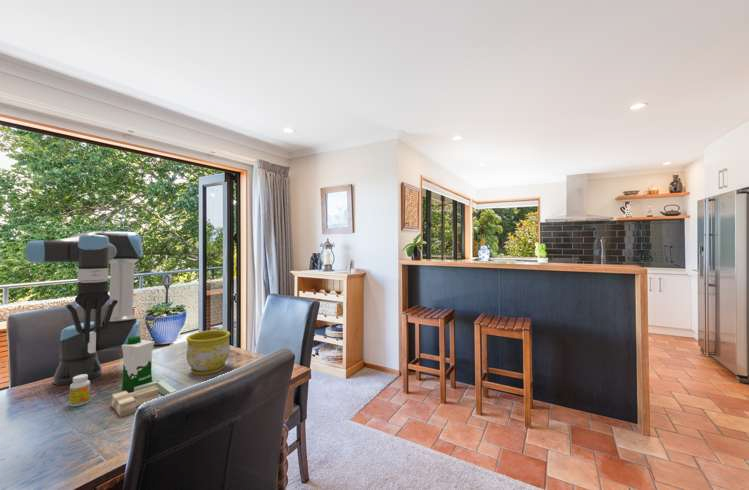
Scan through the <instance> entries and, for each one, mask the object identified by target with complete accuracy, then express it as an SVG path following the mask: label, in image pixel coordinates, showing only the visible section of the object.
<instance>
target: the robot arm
mask: <svg viewBox="0 0 749 490" xmlns="http://www.w3.org/2000/svg"><path fill="white" fill-rule="evenodd" d="M24 249H25V250H24V254H25V259H26V260H27V261H28V262H29V263H31V264H32V263H33V264H34V263H35V264H38V263H40V264H46V263H49V264H52V263H78V264H77V265H78V266H77V281H79V282H78V283H77V291H76V292H77V293H76V297H75V298H74V300H73V301H71V302H70V303H66V304H64V305H65V308H67V310H68V311H69V313H70V315H71V319H72V322H73V324H72V325H70V326H67V327H65V328H63V329H62V330H61V332H60V339H59V363H58V366H57V369H56V370H55V373H54V374H53V379H52V380H53V381H52V383H53V384H54V385H57V386H67V385H71V384H72V383H74V382H73V377H75V376H77V375H82V374H87V375H88V379H87V380H89V381H91V380H93V379H95V378H97V377H99V376H100V375H102V374H103V367H102V365H101V363H100V361H99V359H98V352H104V351H109V350H110V351H111V350H112V351H113V350H118V349H119V350H120V349H122V345H124V344H127V343H128V338H130V337H136V336H139V335H140V331H141V321H140V320H137V316H136V315H134V312H133V311H134V289H135V288H134V284H135V283H134V282H135V281H134V280H135V264H136V263H137V262H138V261H139V260H140V259H139V258H141V257H143V255H144V253H143V242H142V239H141V236H140V234H139V233H138V232H134V231H133V232H132V231H107V230H106V231H105V230H104V231H102V230H95V231H94V230H93V231H88V232H87V231H86V232H81V233H75V234H72V235H71V236H69V237H64V238H59V239H52V240H43V239H40V240H31V241H28V242H27V244H26V245H25V248H24ZM109 264H110V272H109ZM109 273H110V277H109ZM107 280H109V282H108V281H107ZM106 303H107V308H106V310H105V313H104V316H103V319H102V318H101V317H102V308H103V306H105V305H106ZM77 305H79V307H80V308H82V309H83V322H82V323H81V321H80V318H79V315H78V312H77V310H76V309H77V308H78V306H77ZM92 310H93V312H94V315H93V317H94V319H93V320H94V321H91V315H92V313H91V312H92ZM101 319H102V320H101Z"/></svg>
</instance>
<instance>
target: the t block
mask: <svg viewBox="0 0 749 490" xmlns="http://www.w3.org/2000/svg"><path fill="white" fill-rule="evenodd" d="M159 393H160V392H159V389H158V388H157V387H156V386H152V387H149V388H146V389H142V390H139V391H136V392H134V391H131V392H129V391H126V390H122V391H119V392H115V393H112V394H111V407H112V408H113V409H114V410H115V411H116V413H117V415H119V417H121V418H122V417H124V416H127V415H130V414H134V413H136V408H137V407H139V406H142V405H141V404H143V403H144V402H147V401H150V400H152V399H155V398H158V399H159ZM143 405H144V404H143Z"/></svg>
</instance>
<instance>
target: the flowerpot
mask: <svg viewBox="0 0 749 490" xmlns="http://www.w3.org/2000/svg"><path fill="white" fill-rule="evenodd" d="M230 336H231V332H230V331H228V330H225V329H212V330H210V329H209V330H203V331H198V332H195V333H191V334H189V335H188V336H187V337H186V341H187V348H186V361H187V364H188V365H189V367H190V372H192V373H193V374H194V375H197V376H207V375H208V374H209V375H213V374H217V373H220V372H221V371H222V370H224V368H225V366H226V362H227V360H228V358H229V356H230V350H231V348H230V347H231V345H230Z"/></svg>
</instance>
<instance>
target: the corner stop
mask: <svg viewBox="0 0 749 490" xmlns="http://www.w3.org/2000/svg"><path fill="white" fill-rule="evenodd" d="M152 386H156V387H157V388H158V389H159V393H160V394H161V395H163V396H164V395H167V394H170V393H173V392H176V391H177V390H176V389H175V388H174V387H172V386H171V385H169V384H168V383H167V382H166V381H164V380H162V379H158V380H155V381H152V382H150V383H147V384H144V385H140V386H137V387H134V391H133V392H136V391H139V390H142V389H146V388H149V387H152Z"/></svg>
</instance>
